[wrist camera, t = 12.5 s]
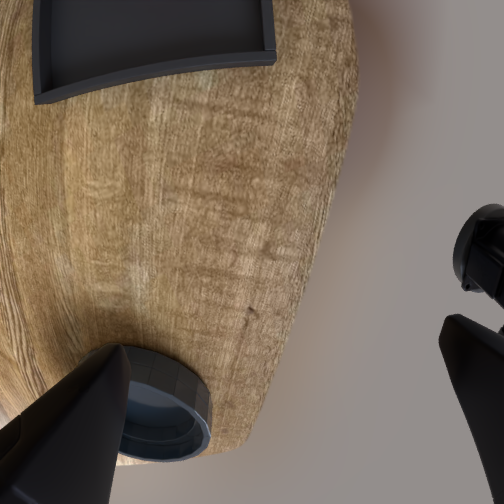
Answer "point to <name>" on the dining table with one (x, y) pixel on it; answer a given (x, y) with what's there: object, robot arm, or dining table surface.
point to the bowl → (163, 409)
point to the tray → (142, 41)
